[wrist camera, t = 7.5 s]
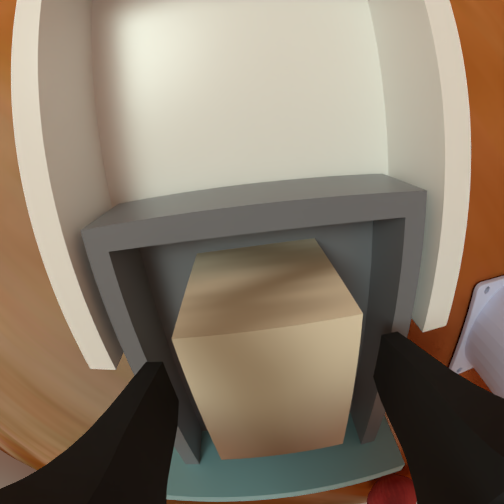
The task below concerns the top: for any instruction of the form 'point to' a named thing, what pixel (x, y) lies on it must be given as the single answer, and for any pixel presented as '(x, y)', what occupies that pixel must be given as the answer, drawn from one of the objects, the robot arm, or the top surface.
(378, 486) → the onion
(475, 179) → the top surface
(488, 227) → the top surface
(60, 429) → the top surface
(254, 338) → the block
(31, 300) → the top surface
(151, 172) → the housing
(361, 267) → the tray
